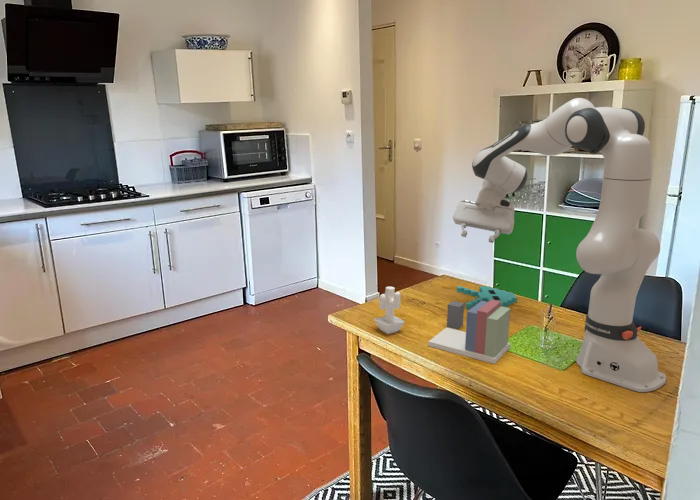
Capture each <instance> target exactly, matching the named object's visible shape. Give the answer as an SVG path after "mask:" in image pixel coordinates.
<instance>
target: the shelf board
mask: <svg viewBox="0 0 700 500" xmlns="http://www.w3.org/2000/svg"><path fill="white" fill-rule="evenodd" d="M510 319H511V308H510V307H502V306H501V301H496V300H490V301H489V302H486V301H480V302H479V303H478V304H476V305H475V306H474V307H473V308H471V309H468V310H467V312H466V327H465V331H462V330H460V329H458V330H457V329H453V328H449V327H445V328H444V329H443V330H441V331H440V332H439V333H437V334H436V335H435V336H433V337H432V338H431V339H430V340H428V344H427V345H428V347H432V348H435V349H438V350H442V351H446V352H448V353H449V352H450V353H452V354H456V355H460V356H464V357H468V358H471V359H475V360H479V361H482V362H486V363H490V364H492V365H495V364H496V363H497V362H498V361H499V360H500V359H501V358H503V356H504V355H505V354H506V353H507V351H508V350H509V349H510V348H511V342H509V331H510V321H511V320H510Z"/></svg>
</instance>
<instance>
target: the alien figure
mask: <svg viewBox="0 0 700 500" xmlns="http://www.w3.org/2000/svg"><path fill="white" fill-rule="evenodd" d="M478 289H479V291H477V290H476V289H471V288H470V287H469V288H467V287H464V286H458V285H457V286H456V291H457V293H463V294H464V295H470V296H471V297H475V299H470V300H469V301H466V302H465V304H464V308H465V309H466V310H470V309H471V308H473V307H474V306H475V305H476V304H478V303H479V302H480V301H486V302H489V301H490V300H496V301H501V306H502V307H507V308H509V305H510V306H511V305H514V304H515V303H516V304H517V303H518V297H517V296H516V295H515V294H514V293H513V292H512V291H506V290H505V289H499V288H494V287H492V286H479V288H478Z"/></svg>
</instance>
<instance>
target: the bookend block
mask: <svg viewBox="0 0 700 500" xmlns="http://www.w3.org/2000/svg"><path fill="white" fill-rule="evenodd" d="M464 311H465V302H460V301H456V300H455V301H454V300H452V301H451V302H449V303H448V304H447V314H446V328H451V329H455V330H460V329H461V328H462V327H463V326H464Z"/></svg>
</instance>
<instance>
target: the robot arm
mask: <svg viewBox="0 0 700 500" xmlns="http://www.w3.org/2000/svg"><path fill="white" fill-rule="evenodd" d="M645 128H646V123H645V118H644V117H643V116H642V114H641V113H640V112H638V111H636V110H634V109H631V108H628V107H621V108H620V107H611V106H597V107H596V106H595V105H594V104H593V103H592V102H591V101H589V100H588V99H585V98H584V97H575V98H573V99H570V100H569V101H567V102H566V103H564V104H563V105H560V107H558V108H557V109H556V110H554V111H553V112H551V114H550V115H548V116H547V117H546V118H545V119H542V120H541V121H537V122H535V123H530V124H523V125H521V126H519V127H517V128H515V129H514V130H512V131H510V133H508V134H507V135H505V136H503V137H502V138H500V139H499V140H498V141H496V142H494V143H493V144H491V145H489V146H487V147H484V148H483V149H481V150H480V151H478V152H477V154H476V155H475V156H474V158H473V160H472V163H471V168H472V171H473V174H474V175H475V176H476V177H478V178H479V179H482V180H483V181H482V187H481V189H480V191H479V193H478V196H477V198H476V200H475V201H474V200H467V199H463V200H460V201H459V202H457V205H456V209H455V211H454V214H453V217H452V220H453V222H454V224H455V225H458V226H461V233H460V235H461V237H462V238H467V235H468V231H467V230H465V229H467V228H468V227H470V228H474V229H479V230H485V231H490V232H494V234H493V235H489V238H488V243H491V244H494V243H495V240H496V239H497V238H498V237H499V236H500V235H501V234H503V235H511V234H512V233H513V231H514V225H515V211H516V210H515V205H514V203H513V202H511V201H509V200H507V199H506V198H505V197H506V195H511V194H515V193H517V192H520V191H522V189H523V188H524V187H525V185H526V184H527V181H528V170H527V167H525V166H524V165H522V164H521V163H518V162H516V161H515V160H513V159H510V158H509V157H507V155H510V153H512V152H514V151H519V150H520V151H522V150H523V151H528V152H533V153H536V154H539V155H544V156H552V157H553V156H558V155H561V154H562V153H565V152H567V151H568V150H569V149H571V148H572V147H575V148H577V149H579V150H582V151H585V152H587V153H589V154H591V155H596V154H598V153H599V154H601V155H602V157H603V159H604V166H603V167H604V168H603V177H602V186H601V193H600V201H599V202H600V203H599V207H598V210H597V213H596V216H595V218H594V221H593V223H592V225H591V227H590V230H589V232H588V233H587V235H586V236H585V237H584V238H583V239H582V240H581V241H580V243H578V246H577V248H576V253H575V255H576V260H577V263H578V265H579V266H580V268H581V269H582V270H583V271H585V272H586V273H588V274H593V275H600V277H599V279H598V280H597V281H596V282H595V283H594V285H592V288H591V290H590V294H589V295H590V297H589V303H588V304H589V305H588V312H587V314H586V316H585V322H584V332H585V333H584V336H583V337H584V338H583V340H582V344H581V346H580V350H579V351H578V355H577V357H576V359H575V360H576V363H577V365H578V366H579V367H580V371H581V373H582V374H583V375H586V376H589V377H592V378H594V379H598V380H601V381H604V382H607V383H611V384H612V385H616V386H619V387H621V388H625V389H628V390H631V391H635V392H638V393H646V392H652V391H655V390H658V389H660V388H661V387H662V386H664V385H665V384H666V382H667V375H666V374H665V373H664V372H662V371H660V370H659V364H658V363H659V362H658V358H657V355H656V354H655V353H654V352H653V351H652V350H651V349H650V348H649V347H648V346H647V345H646V344H645V343H644V342H643V341H642V340H641V339H640V338H639V337H638V332H641V331H642V326H639V327H636V325H635V323H634V320H633V318H634V313H635V306H636V300H637V297H638V296H637V295H638V292H639V290H640V288H641V284H642V282H643V280H644V278H645V276H646V274H647V271H648V269H649V268H650V266H651V265H652V264H653V262H654V261H655V260H656V259H657V258H658V256H659V254H660V253H661V252H660V251H661V242H660V239H659V238H658V236H657V235H656V234H655V233H654V232H653V231H651V230H649V229H645V228H640V227H636V226H637V224H638V223H639V220H640V218H641V217H643V215H644V214H645V213H646V211H647V209H648V207H649V199H650V190H651V182H652V174H653V152H652V145H651V144H652V143H651V141H650V140H649V139H648V138H647V137H646V136H644V133H645Z"/></svg>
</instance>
